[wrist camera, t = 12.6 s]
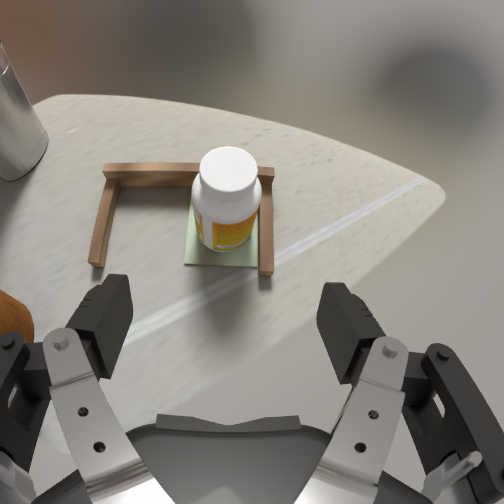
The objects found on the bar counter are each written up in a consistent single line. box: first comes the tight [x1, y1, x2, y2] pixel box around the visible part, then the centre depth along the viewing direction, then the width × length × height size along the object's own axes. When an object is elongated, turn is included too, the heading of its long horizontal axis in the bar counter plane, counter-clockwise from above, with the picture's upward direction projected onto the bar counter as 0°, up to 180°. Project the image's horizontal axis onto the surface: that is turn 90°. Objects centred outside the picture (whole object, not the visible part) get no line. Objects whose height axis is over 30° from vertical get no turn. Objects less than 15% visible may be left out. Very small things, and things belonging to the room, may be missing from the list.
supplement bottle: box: [192, 147, 262, 252], centre depth 23 cm, size 5×5×10 cm
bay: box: [88, 162, 274, 276], centre depth 26 cm, size 17×10×3 cm, turn 90°
